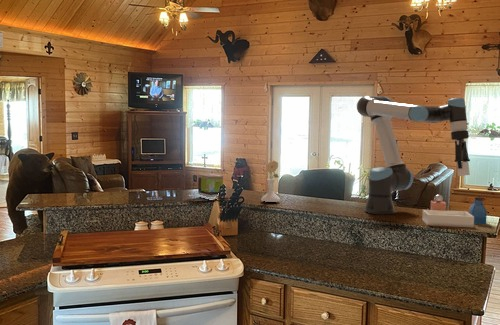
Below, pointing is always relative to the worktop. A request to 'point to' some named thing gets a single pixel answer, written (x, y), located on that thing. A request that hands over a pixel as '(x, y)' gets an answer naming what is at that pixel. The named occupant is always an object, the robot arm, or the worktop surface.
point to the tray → (448, 218)
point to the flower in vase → (271, 183)
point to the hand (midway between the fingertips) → (464, 175)
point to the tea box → (209, 184)
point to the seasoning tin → (438, 206)
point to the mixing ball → (438, 198)
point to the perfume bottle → (478, 211)
